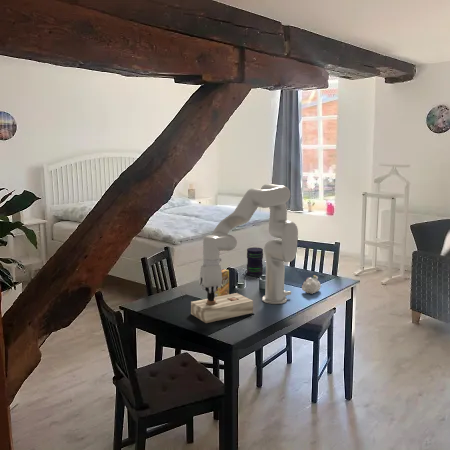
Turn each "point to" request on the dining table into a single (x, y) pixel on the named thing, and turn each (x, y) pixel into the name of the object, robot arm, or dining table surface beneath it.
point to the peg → (211, 302)
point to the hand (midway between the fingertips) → (210, 300)
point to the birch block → (222, 308)
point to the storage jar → (254, 261)
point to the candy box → (223, 284)
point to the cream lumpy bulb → (311, 285)
